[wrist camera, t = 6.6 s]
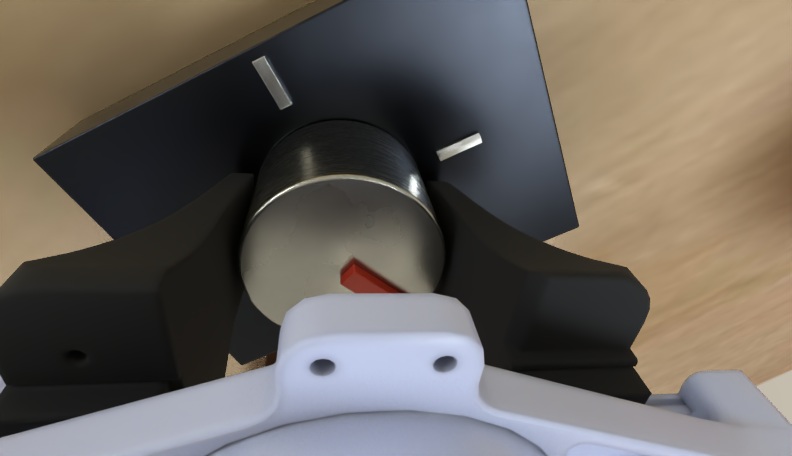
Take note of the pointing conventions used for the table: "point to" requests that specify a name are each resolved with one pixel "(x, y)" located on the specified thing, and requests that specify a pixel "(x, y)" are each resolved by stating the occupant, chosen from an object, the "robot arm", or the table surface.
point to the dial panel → (334, 118)
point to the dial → (338, 220)
